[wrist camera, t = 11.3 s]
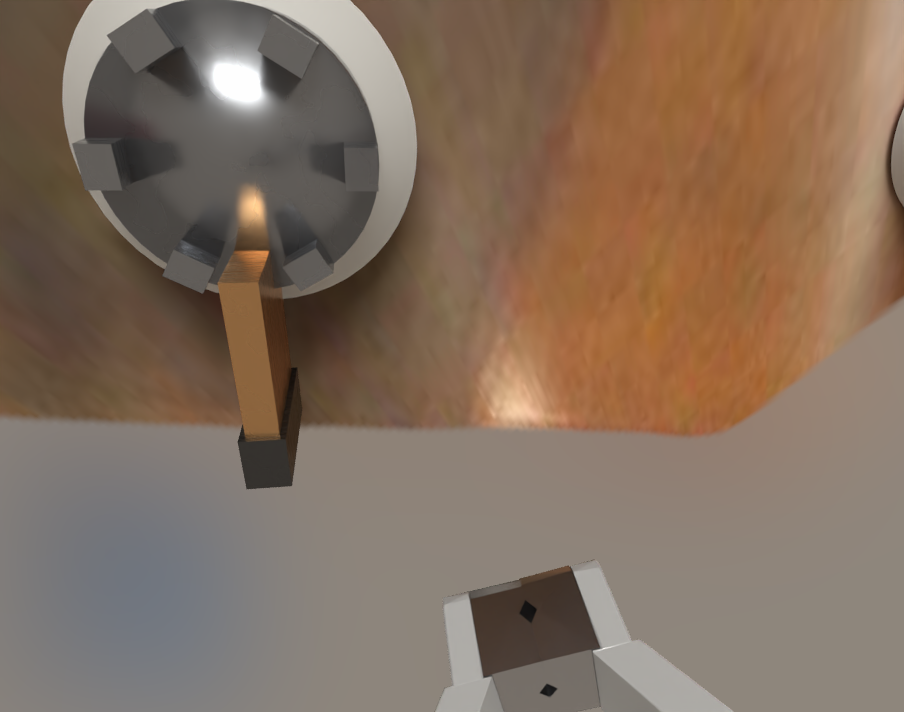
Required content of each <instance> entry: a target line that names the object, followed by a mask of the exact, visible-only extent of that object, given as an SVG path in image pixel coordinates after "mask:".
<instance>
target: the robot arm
mask: <svg viewBox="0 0 904 712" xmlns="http://www.w3.org/2000/svg"><path fill="white" fill-rule="evenodd" d="M891 173H892V180H893V185H894V189H895V191H896V194H897V196H898V198H899V200H900V202H901V204H902V205H903V207H904V109H903V111H902V114H901V116H900V119H899V122H898V125H897V129H896V132H895V137H894V141H893V147H892V156H891ZM443 615H444V623H445V631H446V639H447V647H448V655H449V663H450V671H451V680H452V686H449V687H446V688H444V690H443V693H442V695H441V697H440V700H439V702H438V704H437V707H436V709H435V712H578V711H583V710H587V709H592V708H597V707H601V709H602V710H603V711H604V712H733V711H732V710H731V709H729V708H728V707H727V706H725V705H724V704H723V703H722V702H720V701H719V700H718V699H717V698H715V697H714V696H713V695H711V694H710V693H709V692H708V691H706V690H705V689H704V688H702V687H701V686H700V685H699V684H697V683H696V682H695V681H693V680H692V679H691V678H690V677H688V676H687V675H686V674H684V673H683V672H682V671H681V670H679V669H678V668H677V667H675V666H674V665H673V664H672V663H670V662H669V661H668V660H666V659H665V658H664V657H663V656H661V655H660V654H659V653H657V652H656V651H655V650H654V649H652V648H651V647H650V646H648V645H647V644H646V643H645V642H643V641H642V640H641V639H637V640H632V639H631V637H630V635H629V632H628V630H627V628H626V625H625V623H624V621H623V618H622V616H621V614H620V611H619V609H618V606H617V604H616V602H615V599H614V597H613V595H612V592H611V590H610V588H609V585H608V583H607V580H606V578H605V576H604V574H603V571H602V569H601V566H600V564H599V563H598V562H597V561H596V560H591V561H587V562H583V563H580V564H577V565H573V566H570V567H569V566H565V567H561V568H558V569H554V570H550V571H547V572H543V573H539V574H535V575H532V576H528V577H524V578H520V579H519V580H516V581H512V582H507V583H503V584H499V585H495V586H490V587H486V588H482V589H478V590H473V591H468V592H464V593H461V594H456V595H452V596H448V597H444V598H443Z"/></svg>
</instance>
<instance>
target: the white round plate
mask: <svg viewBox="0 0 904 712" xmlns="http://www.w3.org/2000/svg"><path fill="white" fill-rule="evenodd" d="M179 1H184V0H93V1H92V2H91V3H90V4H89V6H88V7H87V9H86V11H85V12H84V14H83V16H82V18H81V20H80V22H79V23H78V25H77V27H76V29H75V32H74V35H73V38H72V41H71V43H70V46H69V49H68V52H67V58H66V63H65V69H64V74H63V97H62V102H63V111H64V121H65V128H66V132H67V136H68V140H69V144H70V148H71V151H72V154H73V157H74V159H75V162H76V165H77V167H78V170H79V166H78V163H77V159H76V156H75V152H74V149H73V145H72V143H75V142H77V141H79V140H82V139H84V138H85V133H84V110H85V100H86V95H87V91H88V87H89V82H90V80H91V77H92V75H93V72H94V70H95V67H96V65H97V63H98V61H99V59H100V58H101V56H102V55H103V53H104V51H105V50H106V48H107V46H108V45H109V44H110V43H111V41H110V39H109V38H108V37H107V35H108V34H109V33H111V32H112V31H114V30H115V29H117V28H118V27H120V26H121V25H123V24H124V23H126V22H127V21H129V20H130V19H132V18H133V17H135V16H136V15H138V14H139V13H141V12H142V11H144V10H145V9H156V8H159V7H162V6H165V5H168V4H171V3H173V2H179ZM234 1H241V2H248V3H253V4H256V5H260V6H264V7H267V8H270V9H273V10H275V11H278V12H280V13H282V14H285V15H287V16H289V17H291V18H293V19H294V20H296V21H298V22H300V23H301V24H303V25H305V26H306V27H307V28H309V29H310V30H311V31H313V32H314V33H315V34H317V35H318V36H319V37H321V38H322V39H323V40H324V41H325V42H326V43H327V44H328V45H329V46H330V47H331V48H332V49H333V50H334V51H335V52H336V53H337V54H338V55H339V57H340V58H341V59H342V60H343V62H344V63H345V64H346V65H347V66H348V68H349V70H350V71H351V73H352V74H353V76H354V77H355V79H356V80H357V82H358V84H359V86H360V88H361V90H362V92H363V94H364V96H365V98H366V101H367V104H368V107H369V110H370V113H371V115H372V120H373V124H374V129H375V134H376V139H377V144H378V154H379V182H378V187H379V191H377V193H376V199H375V202H374V205H373V208H372V212H371V215H370V217H369V219H368V221H367V223H366V225H365V227H364V229H363V231H362V232H361V234H360V235H359V237H358V239H357V240H356V242H355V243H354V244H353V245H352V246H351V248H350V249H349V250H348V251H347V252H346V253H345V255H343V256H342V257H341V258H340V259H339V260H338V261H337V262H335V263H334V272H333V274H331V275H329V276H327V277H325V278H324V279H322V280H320V281H318V282H317V283H315V284H313V285H311V286H310V287H308V288H306V289H304V290H303V291H300V290H299V289H298V287H297V286H296V285H295V284H293V285H290V286H285V287H282V296H283V299H287V298H295V297H299V296H304V295H308V294H312V293H315V292H318V291H321V290H323V289H326V288H329V287H331V286H333V285H335V284H337V283H339V282H341V281H343V280H345V279H347V278H348V277H350V276H351V275H353V274H354V273H355V272H357V271H358V270H360V269H361V268H363V267H364V266H365V265H366V264H367V263H368V262H369V261H370V260H371V259H372V258H374V257H375V256H376V255H377V253H378V252H379V251H380V250H381V249H382V248H383V246H384V245H385V244H386V243H387V242H388V240H389V239H390V237H391V235H392V234H393V232H394V231H395V229H396V228H397V226H398V224H399V222H400V220H401V218H402V216H403V214H404V211H405V209H406V207H407V204H408V201H409V197H410V194H411V191H412V188H413V182H414V176H415V171H416V158H417V138H416V125H415V119H414V114H413V109H412V104H411V100H410V97H409V94H408V91H407V88H406V85H405V82H404V79H403V76H402V74H401V72H400V70H399V68H398V66H397V64H396V61H395V59H394V57H393V55H392V53H391V52H390V50H389V49H388V47H387V45H386V44H385V42H384V41H383V39H382V37H381V36H380V34H379V33H378V31H377V30H376V29H375V28H374V26H373V25H372V24H371V23H370V21H369V20H368V19H367V18H366V16H365V15H364V14H363V13H362V12H361V11H360V10H359V9H358V8H357V7H356V6H355V5H354V4H353V3H352V2H351V1H350V0H234ZM79 172H80V170H79ZM80 175H81V174H80ZM89 192H90V194H91V195H92V197H93V198H94V200H95V201H96V203H97V204H98V206H99V207H100V209H101V210H102V212H103V213H104V215H105V216H106V217H107V218H108V220H109V221H110V222H111V223H112V224H113V225H114V227H115V228H116V229H117V230H118V231H119V233H120V234H121V235H122V236H123V237H124V238H126V239H127V240H128V241H129V242H130V243H131V244H132V245H133V246H134V247H135V248H136V249H137V250H138V251H140V252H141V253H142V254H144V255H145V256H146V257H147V258H149V259H150V260H151V261H153V262H154V263H155V264H157V265H158V266H160V267H162V268H163V269H165V268H166V266H167V263H165V262H164V261H162V260H161V259H159V258H158V257H156V256H155V255H154V254H152V253H151V252H150V251H149V250H148V249H146V248H145V247H144V246H143V245H141V244H140V243H139V242H138V241H137V240H136V239H135V238H134V237H133V236H132V235H131V234H130V233H129V231H128V230H127V229H126V228H125V227H124V225H123V224H122V223H121V222H120V220H119V219H118V218H117V217H116V215H115V214H114V212H113V211H112V209H111V208H110V206H109V205H108V203H107V201H106V200H105V198H104V196H103V194H102V192H101V190H89ZM206 289H207V290H210V291H213V292H216V293H219V289H218V285H215V284H211V283H208V285H207V287H206Z"/></svg>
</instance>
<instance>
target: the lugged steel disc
mask: <svg viewBox="0 0 904 712" xmlns="http://www.w3.org/2000/svg"><path fill="white" fill-rule="evenodd" d="M107 37H108V38H109V39H110V41H111V43H110V44H109V45H108V46H107V48H106V50H105V51H104V53H103V55H102V56H101V58H100V59H99V61H98V63H97V65H96V67H95V70H94V72H93V75H92V77H91V80H90V82H89V87H88V91H87V95H86V100H85V110H84V133H85V138H84V139H82V140H79V141H77V142H75V143H72V145H73V149H74V152H75V156H76V159H77V163H78V166H79V170H80V174H81V177H82V181H83V184H84V188H85V190H101V192H102V194H103V196H104V198H105V200H106V201H107V203H108V205H109V206H110V208H111V209H112V211H113V212H114V214H115V215H116V217H117V218H118V219H119V220H120V222H121V223H122V224H123V225H124V227H125V228H126V229H127V230H128V231H129V233H130V234H131V235H132V236H133V237H134V238H135V239H136V240H137V241H138V242H139V243H140V244H141V245H143V246H144V247H145V248H146V249H148V250H149V251H150V252H151V253H152V254H154V255H155V256H156V257H158V258H159V259H161V260H162V261H164V262H165V263H167V266H166V268H165V271H164V273H163V275H162V276H164V277H166V278H168V279H170V280H173V281H175V282H177V283H180V284H182V285H184V286H186V287H189V288H191V289H193V290H196V291H198V292H200V293H202V294H203V293H204V291H205V289H206V287H207V285H208V283H211V284H215V285H218V289H219V294H220V300H221V305H222V311H223V316H224V322H225V328H226V333H227V339H228V344H229V350H230V355H231V361H232V366H233V372H234V377H235V383H236V389H237V394H238V400H239V405H240V411H241V416H242V422H243V425H242V428H241V432H240V436H239V440H238V446H239V451H240V456H241V462H242V467H243V472H244V478H245V483H246V488H247V489H256V488H270V487H283V486H292V481H293V473H294V466H295V459H296V451H297V443H298V436H299V429H300V421H301V414H302V405H301V396H300V387H299V379H298V370H297V368H291V363H290V354H289V346H288V338H287V329H286V321H285V312H284V304H283V296H282V287H285V286H290V285H293V284H295V285H296V286H297V287H298V289H299V290H300V291H303V290H304V289H306V288H308V287H310V286H311V285H313V284H315V283H317V282H318V281H320V280H322V279H324V278H325V277H327V276H329V275H331V274H333V272H334V263H335V262H337V261H338V260H339V259H340V258H341V257H342V256H343V255H345V253H346V252H347V251H348V250H349V249H350V248H351V246H352V245H353V244H354V243H355V242H356V240H357V239H358V237H359V235H360V234H361V232H362V231H363V229H364V227H365V225H366V223H367V221H368V219H369V217H370V215H371V212H372V208H373V205H374V202H375V199H376V193H377V191H379V187H378V182H379V154H378V144H377V139H376V134H375V129H374V124H373V120H372V115H371V113H370V110H369V107H368V104H367V101H366V98H365V96H364V94H363V92H362V90H361V88H360V86H359V84H358V82H357V80H356V79H355V77H354V76H353V74H352V73H351V71H350V70H349V68H348V66H347V65H346V64H345V63H344V62H343V60H342V59H341V58H340V57H339V55H338V54H337V53H336V52H335V51H334V50H333V49H332V48H331V47H330V46H329V45H328V44H327V43H326V42H325V41H324V40H323V39H322V38H321V37H319V36H318V35H317V34H315V33H314V32H313V31H311V30H310V29H309V28H307V27H306V26H305V25H303V24H301V23H300V22H298V21H296V20H294V19H293V18H291V17H289V16H287V15H285V14H282V13H280V12H278V11H275V10H273V9H270V8H267V7H264V6H260V5H256V4H253V3H248V2H241V1H234V0H184V1H179V2H173V3H171V4H168V5H165V6H162V7H159V8H156V9H145V10H144V11H142V12H141V13H139V14H138V15H136V16H135V17H133V18H132V19H130V20H129V21H127V22H126V23H124V24H123V25H121V26H120V27H118V28H117V29H115V30H114V31H112V32H111V33H109V34H108V35H107Z"/></svg>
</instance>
